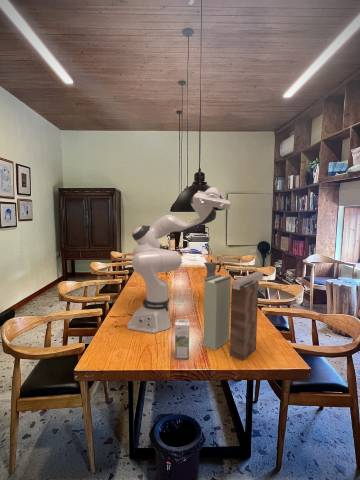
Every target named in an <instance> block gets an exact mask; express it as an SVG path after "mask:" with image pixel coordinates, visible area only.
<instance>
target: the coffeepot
mask: <svg viewBox="0 0 360 480" xmlns="http://www.w3.org/2000/svg"><path fill="white" fill-rule="evenodd" d="M203 264H204V266H205V268H206V276H205V279H206V278H209V277H212V276H216V275H217V274H216V273H220V271H221V268H222V264H221V263H220V262H214V261H213V259H210V261H209V262H207V261H206V262H203ZM217 266H219V267H218V270H217V271H216V269H217Z"/></svg>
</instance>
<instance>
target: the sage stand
mask: <svg viewBox="0 0 360 480" xmlns="http://www.w3.org/2000/svg"><path fill="white" fill-rule="evenodd" d="M215 275H216V276H212V277H209V278H206V277H205V279H204V286H203V287H204V291H203V292H204V296H203V297H204V298H203V302H204V303H203V347H205V348H208V349H211V350H213V351H216V350H217V349H219V348H220V347H222V346H223V345H225V344H226V343H228V342H230V328H231V291H232V276H231V275H227V276H225V277H224V276H222V274H215Z"/></svg>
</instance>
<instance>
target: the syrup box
mask: <svg viewBox="0 0 360 480" xmlns="http://www.w3.org/2000/svg"><path fill="white" fill-rule="evenodd" d="M174 359H175V360H176V359H177V360H180V359H181V360H182V359H183V360H185V359H186V360H187V359H188V360H189V359H190V322H189V319H174Z"/></svg>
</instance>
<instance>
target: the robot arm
mask: <svg viewBox="0 0 360 480" xmlns="http://www.w3.org/2000/svg"><path fill="white" fill-rule="evenodd" d="M190 205H191V207H192V209H193V210H194V211H195V213H196V214H197V215H198V218H195V219H193V220H191V221H183V220H181V219H180V218H179V217H178V216H175V215H173V214H166V215H163V216H162V217H160V218H158V219H157V220H156V221H155V222H153V223H152V224H151V225H139V226H138V227H136V228H135V229H134V230H133V232H132V234H131V236H132V238H133V240H134V241H135V242H136V244H137V245H136V246H135V247H134V248H133V249H132V260H131V266H132V268H133V270H134V272H135V273H137V274H138V275H140V277H141V278H142V279H143V281H144V284H145V290H146V296H145V297H144V298H143V300H142V303H141V306H140V307H138V308H137V309H136V310H134V313H133V314H132V317H131V319H130V320H129V321H128V322H127V325H126V327H127V329H128V330H132V331H138V332H142V333H148V334H156V333H159V332H163V331H166V330H169V329H170V328H171V327H172V321H171V318H170V298H169V284H168V282H167V281H166V280H164V279H163V278H160V277H159V275H158V274H159V273H167V272H168V273H169V272H172V271H177V270H179V269H180V267H181V265H182V256H181V254H180V252H178V251H177V250H171V249H164V247H163V245H162V243H160V241H159V240H158V239H161V238H164V237H166V236H167V235H170V234H171V233H174V232H178V233H184V232H186V231H189V230H192V229H195V228H198V227H200V226H202V225H206V224H209V223H211V222H213V221H214V220H216V217H217V211H216V209H215V208H217V209H219V210H230V208H231V201H230V200H228V199H226V198H221V193H220V190H219V189H218V188H217V187H215V186H211V187H208V188H207V189H206V190H198V191H197V192H196V193H194V195H192V197H191V200H190Z"/></svg>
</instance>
